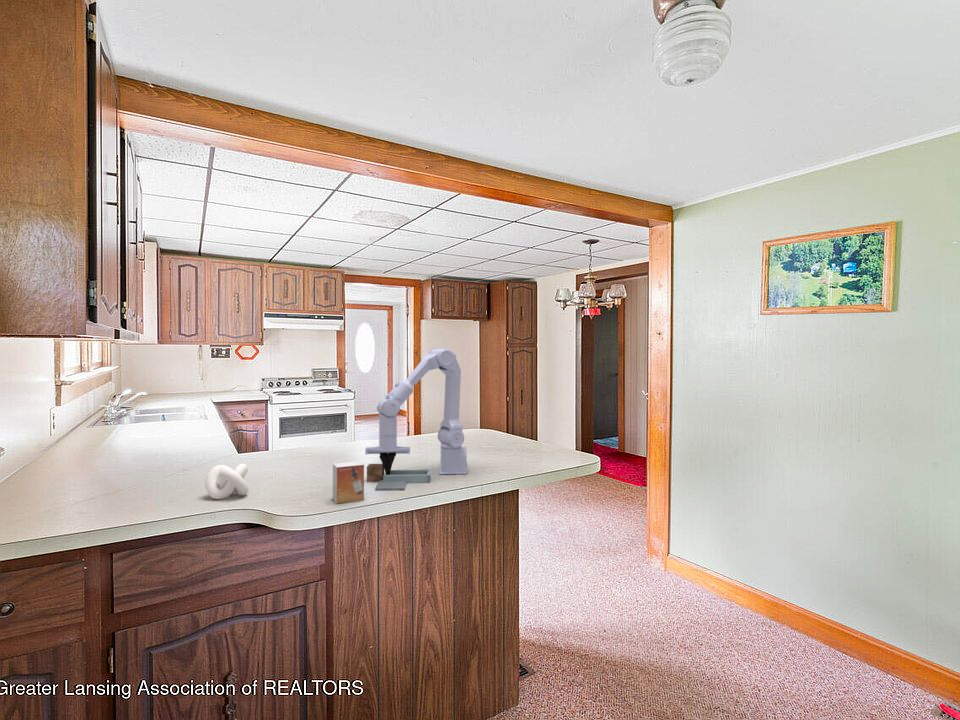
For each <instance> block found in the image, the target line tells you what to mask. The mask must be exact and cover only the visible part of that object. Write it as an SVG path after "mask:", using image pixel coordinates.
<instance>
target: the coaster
mask: <svg viewBox="0 0 960 720" xmlns="http://www.w3.org/2000/svg"><path fill="white" fill-rule="evenodd" d="M407 484H408V483H407V481H379V482H377V484H376V486H375V488H374V490H375V491H376V492H377V491H405V490H406V486H407Z"/></svg>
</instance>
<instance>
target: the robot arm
mask: <svg viewBox="0 0 960 720" xmlns="http://www.w3.org/2000/svg"><path fill="white" fill-rule="evenodd" d="M436 369H439V370H440V372H441V373H443V374H444V376H445V383H444V403H443V404H444V407H443V420H442V421H441V422H440V428H439V430H438V432H437V439H438V441H439V442H440V467H439V471H438V474H439V475H467V468H468V461H467V460H468V459H467V456H468V455H467V452H468V451H467V446H462V445H463V444H464V442H465V435H464V432H463V425H462V424H461V421H460V406H461V405H460V404H461V403H460V402H461V401H460V399H461V384H462V383H461V382H462V381H461V379H462V369H461V367H460V364H459V363H458V360H457V354H456V353H454V351H453V350H451V349H449V348H432V349H430V350H429V351H428V353H426V354H425V355H424V356H423V358H422V360H421V361H420V362H419V363H418V364H417V366H416V367H415V368H414V369H413V371H412V372H411V373H410V374H409V376H408V377H407V378H406V379H405V380H400V381H399V382H398V381H397V382H395V383H394V387H393V388H392V389H391V390H390V392H389V393H386V394H385V397H384V398H381V399H380V400H379V401H378V403H377V406H376V412H378V414H379V418H378V419H379V420H378V425H379V427H378V429H379V430H378V436H379V438H378V439H379V440H378V441H379V443H378V445H379V446H369V447H365V455H372V454H373V455H379V459H380V461H381V464H383V466H384V474H385V475H390V472H391V470H392V466H393V463H394V460H395V458H396V456H397V455H398V454H401V455H403V454H404V455H405V454H407V455H410V454H411V447H410V446H398V443H397V442H398V440H397V439H398V436H397V435H398V432H397V431H398V429H397V428H398V425H397V424H398V422H397V419H398V418H397V414H399V413H400V410H401V407H402V406H403V404H404V403H405V402H406V401H407V399H408V398H410V396H411V395H412V394H413V393H414V386H415V385H416V384H418V383H419V381H420V380H421V379H422V378H424V376H425V375H426V374H427V373H429V371H432V370H436Z"/></svg>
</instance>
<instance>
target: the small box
mask: <svg viewBox="0 0 960 720" xmlns="http://www.w3.org/2000/svg"><path fill="white" fill-rule="evenodd" d="M332 500H333V501H334V503H336V504H342V503H350V502H360V501H365V465H364V463H363V462H362V461H360V460H356V461H347V462H334V463H332Z"/></svg>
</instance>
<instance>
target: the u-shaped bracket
mask: <svg viewBox="0 0 960 720" xmlns="http://www.w3.org/2000/svg"><path fill="white" fill-rule="evenodd" d="M383 481H407V483H406V484H422V483H423V484H425V483H426V484H427V483H428V484H429V483H430V482H431V469H391V472H390V475H386V474H384V475H383Z"/></svg>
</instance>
